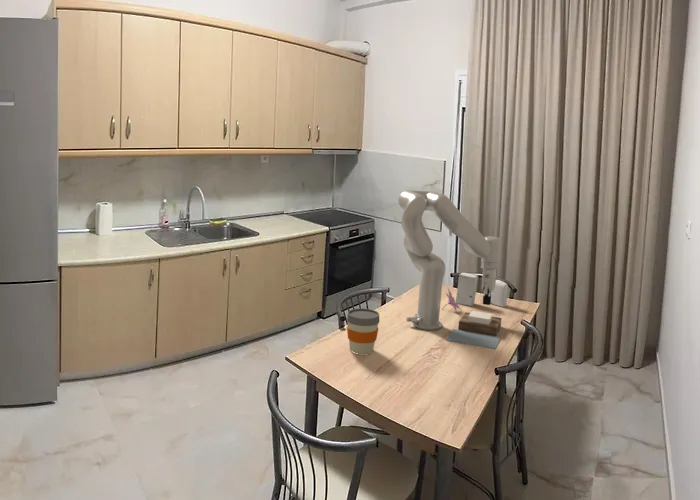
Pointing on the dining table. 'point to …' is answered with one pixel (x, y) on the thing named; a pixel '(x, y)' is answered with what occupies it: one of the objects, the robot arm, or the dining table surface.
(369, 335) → the reusable coffee cup
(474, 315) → the tile
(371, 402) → the dining table surface
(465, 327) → the block
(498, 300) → the photo printer
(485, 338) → the mat
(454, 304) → the lily
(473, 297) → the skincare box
